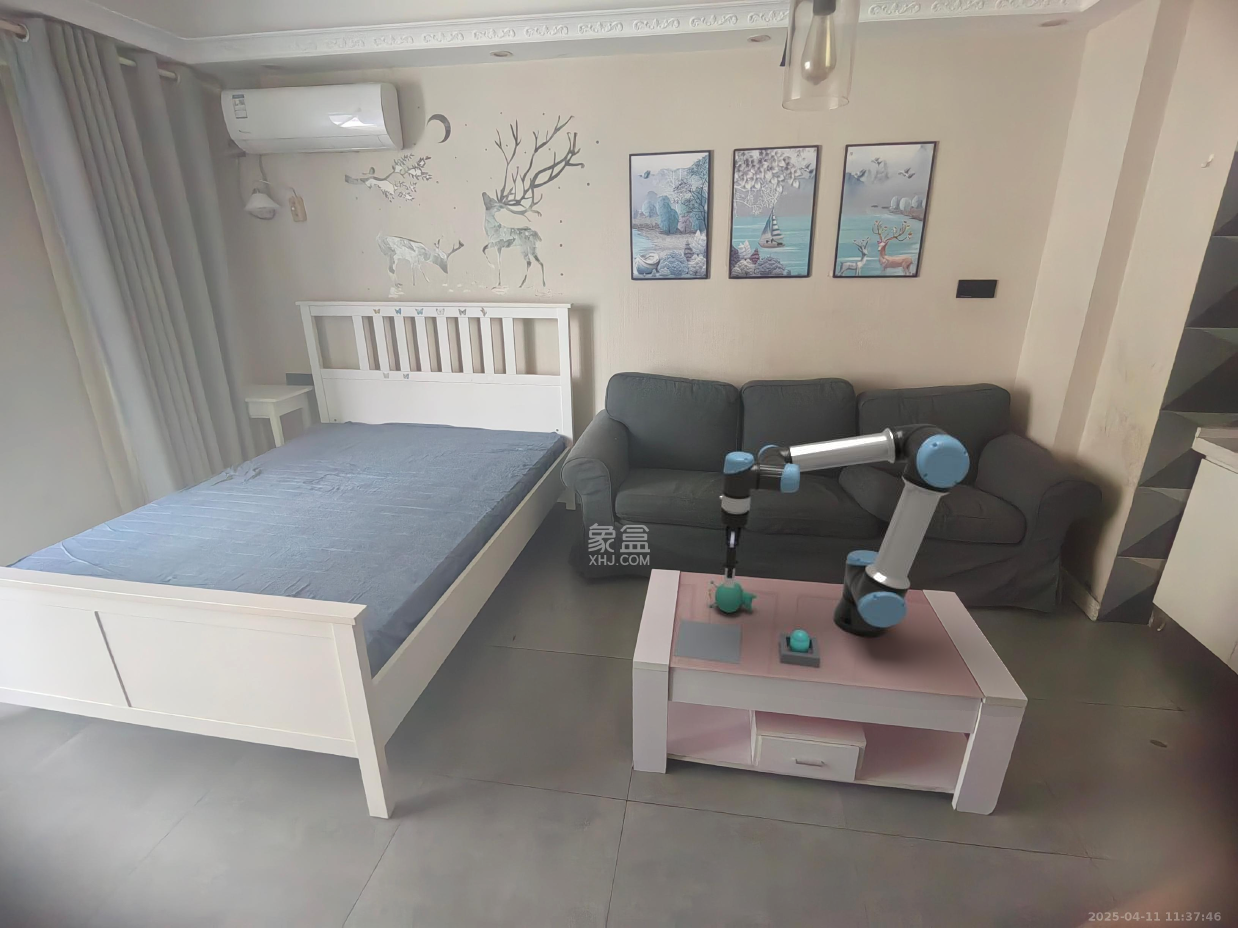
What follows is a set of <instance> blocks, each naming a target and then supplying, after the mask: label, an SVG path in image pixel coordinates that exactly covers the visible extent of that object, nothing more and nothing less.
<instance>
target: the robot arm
mask: <svg viewBox="0 0 1238 928" xmlns="http://www.w3.org/2000/svg"><path fill="white" fill-rule="evenodd" d="M882 461H887V462H889V463H890V464H894V463H906V464H905V467H904V470H903V472H902V475H901V479H902V480H903V482H904V484H905V485H904V487H903V489H902V493H901V495H900V498H899V500H898V503H897V505H896V507H895V509H894V512H893V515H892V517H891V519H890V523H889V525H888V528H887V530H886V533H885V535H884V536H883V537H884V538H883V540H882V542H881V546H880V548H879V550H878V552H876V551H873V550H865V549H864V550H862V549H861V550H860V549H859V550H853V551H850V552H849V553H848V555H847V556H846V560H845V572H844V578H843V587H842V588H843V589H842V596H841V598H840V600H839V602H838V604H836V606H835V609H834V611H833V623H834V624H835V625H836V626H837V627H838V628H839V629H840V630H842V631H843V632H846V633H847V634H850V635H853V636H857V637H861V638H876V637H880V636H883V635H884V634H885V633H886V632H887V628H890V627H891V626H895V625H897V624H899V623H900V622H902V621H903V620H904V618H905V617H906V615H907V611H908V607H907V602H906V600H905V598H906V596H907V593H908V591H909V589H910V587H911V582H910V580H909V578H908V575H909V573H910V570H911V567H912V565H913V562H914V560H915V558H916V555H917V553H918V551H919V549H920V546H921V544H922V542H923V539H924V537H925V535H926V532H927V530H928V527H929V524H930V523H931V521H932V518H933V515H934V513H935V511H936V509H937V506H938V504H939V501H940V499H941V497H943V496H946V495H948V494H950V492H951V491H952V488H953V487H954V486H955V485H956V484H958V483H960V482H961V481H963V479H965V477H966V476H967V474H968V472H969V469H970V457H969V454H968V451H967V449H966V448H965V447H964V445H963V444H962V443H961V441H959V440H958V439H957V438H955V437H954V436H952V435H950V434H949V433H947V432H946V431H945V430H944V429H943V428H942V427H939V426H937V425H935V424H930V423H917V424H916V423H915V424H907V425H900V426H899V425H898V426H893V427H887V428H885V429H884V430H883V431H882V432H879V433H872V434H865V435H859V436H857V435H856V436H853V437H846V438H839V439H838V438H837V439H832V440H831V439H830V440H827V441H825V440H824V441H817V442H811V443H805V444H797V445H791V446H782V447H779V446H778V445H774V444H770V445H765V446H764V447H762V448H761V449H760V450H759V452H758V454H757V461H755V458H754V455H752V454H751V453H749V452H744V451H732V452H730V453H727V454H726V456H725V458H724V466H723V477H722V492H721V493H722V495H720V496H719V500H721V509H720V522H721V523H722V525H725V526H726V529H725V537H726V539H725V545H726V559H725V563H723V568H724V570H725V571H724V581H723V584H724V587H731V588H734V582H735V577H736V565H738V564H739V560H736V559H737V548H738V547H739V545H740V544H739V543H740V538H741V534H742V533H741V532H742V527H745V526H746V525H748V524H749V520H750V519H749V517H750V509H751V496H752V495H751V494H752V491H761V492H774V493H775V492H776V493H783V494H785V493H796V492H797V491H798V490H799V488H800V481H801V472H808V471H815V470H822V469H830V468H836V467H844V466H846V467H847V466H853V465H859V464H868V463H875V462H882Z"/></svg>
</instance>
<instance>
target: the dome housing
mask: <svg viewBox="0 0 1238 928" xmlns="http://www.w3.org/2000/svg"><path fill="white" fill-rule="evenodd" d="M791 634H792V633H785V632H779V654H780V656H779V658H780V663H781V664H787V665H793V666H794V665H796V666H801V667H802V666H803V667H809V668H810V667H813V668H819V667H820V662H821V661H820V660H821V658H820V657H821V656H820V650H819V643H818V637H817V636H811V635H808V636H809V638H810V641H809V649H810V653H808V654H806V653H798V652H789V651H788V648H787V647H788V646H789V647H790V640H791Z"/></svg>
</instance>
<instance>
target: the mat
mask: <svg viewBox="0 0 1238 928" xmlns="http://www.w3.org/2000/svg"><path fill="white" fill-rule="evenodd" d="M741 637H742V626H738V625H729V624H721V623H713V622H701V621H693V620H685V619H684V620H683V619H681V620H680V625H679V629H678V634H677V639H676V642H675V647H674V652H673V656H674V657H681V658H687V659H696V660H703V661H710V662H711V661H713V662H719V663H726V664H727V663H728V664H735V665H740V659H741V658H740V655H741V639H742V638H741Z"/></svg>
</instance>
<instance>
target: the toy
mask: <svg viewBox="0 0 1238 928" xmlns="http://www.w3.org/2000/svg"><path fill="white" fill-rule="evenodd" d="M709 583H710V584H712V585H714V587H716V590H715V594H714V601H715V602H713V603H710V604H709V607H710V608H712V607H713V605H717V607H718V608H719V609H720V610H721V611H722V612H725V613H729V614H730V613H734V612H736V611H738V610H739V608H741V606H744V607H745V608H746V609H748V610H749V611H750V612H753V610H754V608H753V607H752V603H753V599H756V598H757V595H755V594H753V593H750V592H746V591H745V589H743V587H742V585H741V583H740V582H738V581H734V588H731V587H724V583H721V584H719V585H716V584H715V582H714V580H711V581H710V582H709ZM707 591H708V596H709V599H710V600H711V599H712V597H711V596H712V593H711V591H712V589H711V588H709V589H708V590H707Z"/></svg>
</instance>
